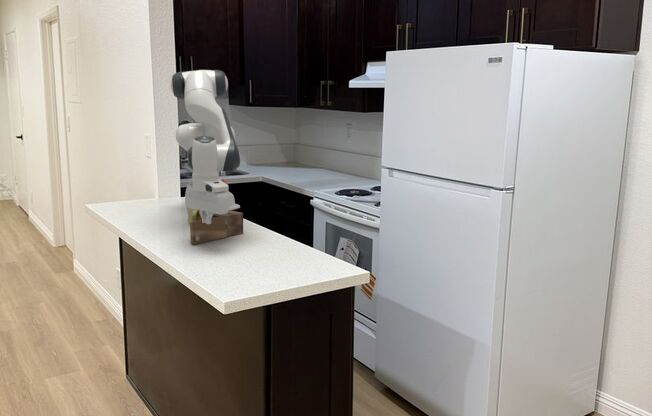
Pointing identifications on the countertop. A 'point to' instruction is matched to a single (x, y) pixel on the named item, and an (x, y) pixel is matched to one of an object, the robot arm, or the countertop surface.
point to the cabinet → (233, 222)
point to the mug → (193, 215)
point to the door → (208, 230)
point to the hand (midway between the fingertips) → (206, 223)
